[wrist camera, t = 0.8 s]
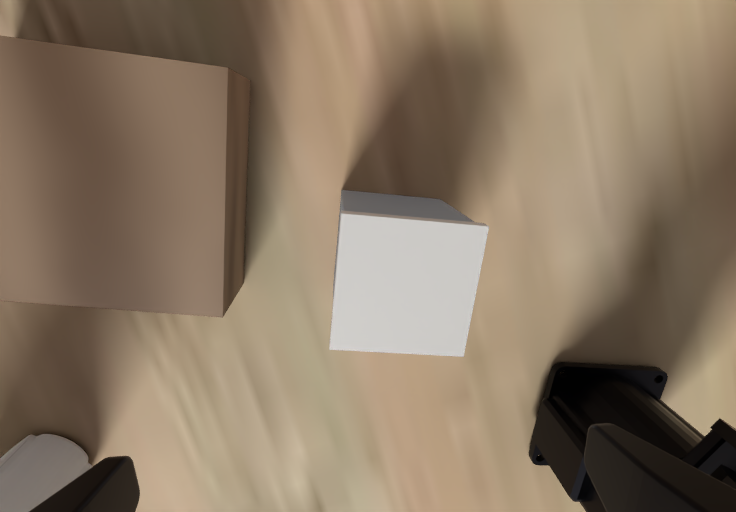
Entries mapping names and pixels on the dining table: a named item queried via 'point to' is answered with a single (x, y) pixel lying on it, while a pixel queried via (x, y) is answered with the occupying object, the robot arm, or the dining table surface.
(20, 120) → the walnut block
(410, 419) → the dining table surface
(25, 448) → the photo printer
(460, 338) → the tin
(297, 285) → the dining table surface
